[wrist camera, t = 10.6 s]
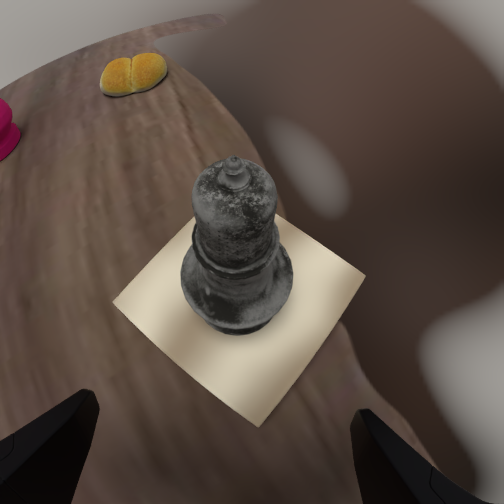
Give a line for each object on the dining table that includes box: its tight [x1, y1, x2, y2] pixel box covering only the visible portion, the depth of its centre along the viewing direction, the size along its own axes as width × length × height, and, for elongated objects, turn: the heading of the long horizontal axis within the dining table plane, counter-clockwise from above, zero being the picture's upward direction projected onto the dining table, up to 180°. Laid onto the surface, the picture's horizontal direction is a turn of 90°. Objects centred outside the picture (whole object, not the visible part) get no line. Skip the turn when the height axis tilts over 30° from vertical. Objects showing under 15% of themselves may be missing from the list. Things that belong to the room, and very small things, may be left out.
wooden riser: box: [113, 214, 365, 427], centre depth 20 cm, size 12×12×2 cm
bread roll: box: [100, 53, 167, 97], centre depth 32 cm, size 8×9×4 cm
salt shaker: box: [180, 155, 293, 336], centre depth 13 cm, size 6×6×12 cm
